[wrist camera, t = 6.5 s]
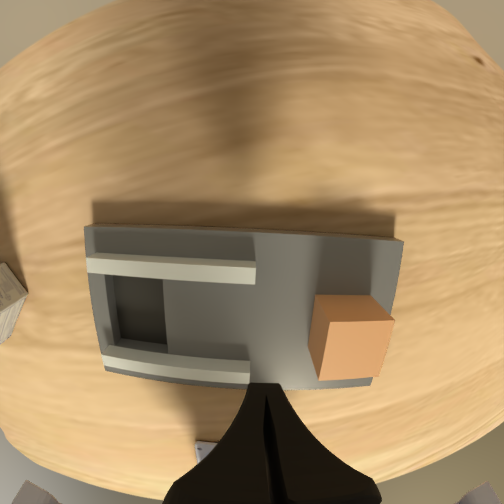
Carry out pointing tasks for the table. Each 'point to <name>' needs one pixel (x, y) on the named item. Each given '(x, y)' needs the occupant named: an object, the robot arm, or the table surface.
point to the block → (348, 336)
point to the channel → (225, 299)
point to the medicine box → (9, 301)
